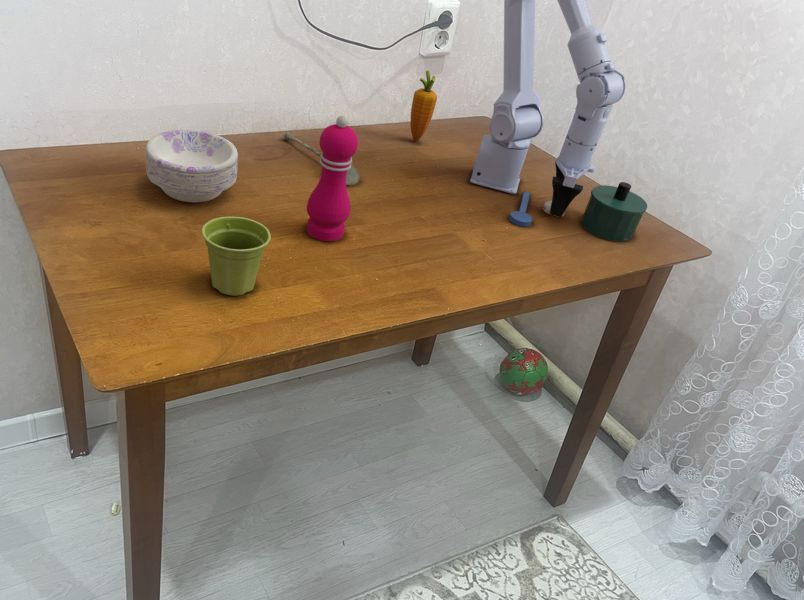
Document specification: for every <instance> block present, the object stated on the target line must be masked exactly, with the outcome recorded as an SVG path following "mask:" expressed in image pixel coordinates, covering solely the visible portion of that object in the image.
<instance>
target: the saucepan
mask: <svg viewBox="0 0 804 600" xmlns="http://www.w3.org/2000/svg"><path fill="white" fill-rule="evenodd" d="M643 215H644V213H641V214H626V213H621V212H617V211H614V210H611V209H609V208H607V207H604V206H603V205H601V204H599V203H598V202H597V201H595V200H594V199H593V197H592V195H591V194H590V197H589V200H588V202H587V205H586V207H585V209H584V212H583V214H582V217H581V225H582V227H583V228H584V229H585V230H586V231H587V232H589V233H590V234H591V235H594V236H596V237H597V238H598V237H599V238H601V239H604V240H608V241H612V242H626V241H627V242H628V241H630V240H631V239H632V237H633V236H634V235H635V232H636V230H637V229H638V226H639V223H640V221H641V219H642V217H643Z"/></svg>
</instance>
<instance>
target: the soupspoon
mask: <svg viewBox="0 0 804 600" xmlns="http://www.w3.org/2000/svg"><path fill="white" fill-rule="evenodd" d="M282 137H283V140H285V141H289V140H290V141H292V142H295V143H297V144H299V145H301V146H302V147H304V148H305V149H306V150H309V151H310V152H312V153H313V154H315V155H317V156H318V157H320V158H321V154H322V153H323V152H320V151H318V150H317V149H316V148H314V147H312V146H311V145H308V144H306V143H305V142H304V141H301V140H300V139H298V138H297V137H296V136H293V135H292V134H291V132H290V131H285V132H284V133H283V135H282ZM360 177H361V176H360V173H359V172H358V170H357V168H356V167H355V166H354V165H353V164H351V168H350V169H349V170H348V171H347V175H346V186H355V185H357V184H358V183H359V182H360Z"/></svg>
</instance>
